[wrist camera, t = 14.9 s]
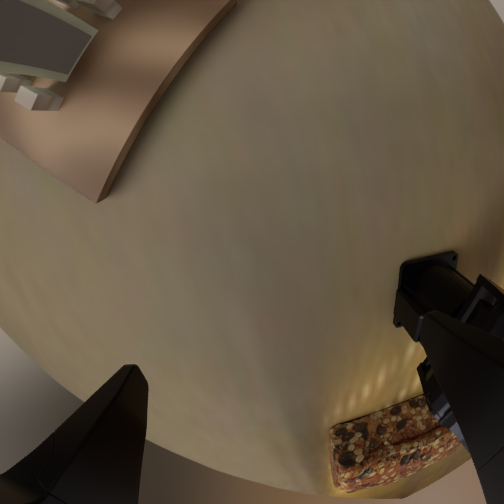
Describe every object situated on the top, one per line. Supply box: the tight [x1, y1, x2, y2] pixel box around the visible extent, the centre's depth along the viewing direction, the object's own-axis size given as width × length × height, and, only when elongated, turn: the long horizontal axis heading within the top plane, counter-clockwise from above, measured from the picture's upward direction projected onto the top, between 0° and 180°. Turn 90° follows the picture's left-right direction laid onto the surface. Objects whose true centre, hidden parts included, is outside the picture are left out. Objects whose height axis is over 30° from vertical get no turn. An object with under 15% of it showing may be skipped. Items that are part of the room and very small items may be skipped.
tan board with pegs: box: [0, 0, 236, 204], centre depth 10 cm, size 16×18×4 cm
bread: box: [329, 395, 461, 493], centre depth 26 cm, size 19×11×10 cm, turn 101°
